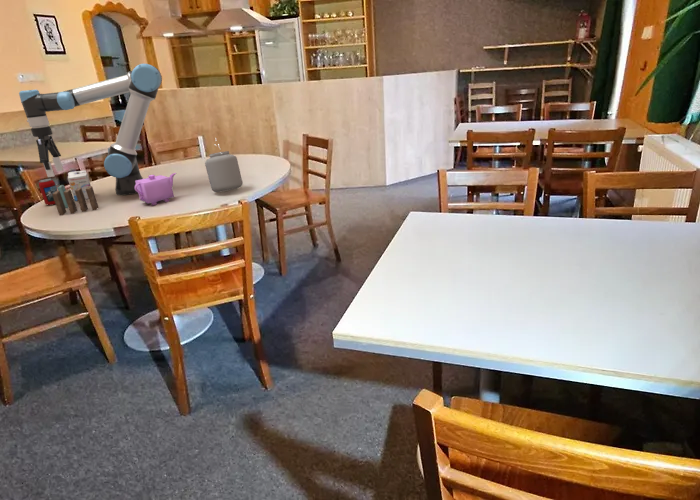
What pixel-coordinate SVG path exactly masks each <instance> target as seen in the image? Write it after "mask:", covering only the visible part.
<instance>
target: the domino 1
mask: <svg viewBox="0 0 700 500" xmlns="http://www.w3.org/2000/svg"><path fill="white" fill-rule="evenodd" d="M56 188H57V191H60V194H61V197H62V199H63V202H64V205H65V208H66V209H69V207H68V204H67V201H66V199H65V196H64V193H63V192H64V191H66V190H67V189H66V187H65V185H64V184H61V185H59V186H57V187H56Z"/></svg>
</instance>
